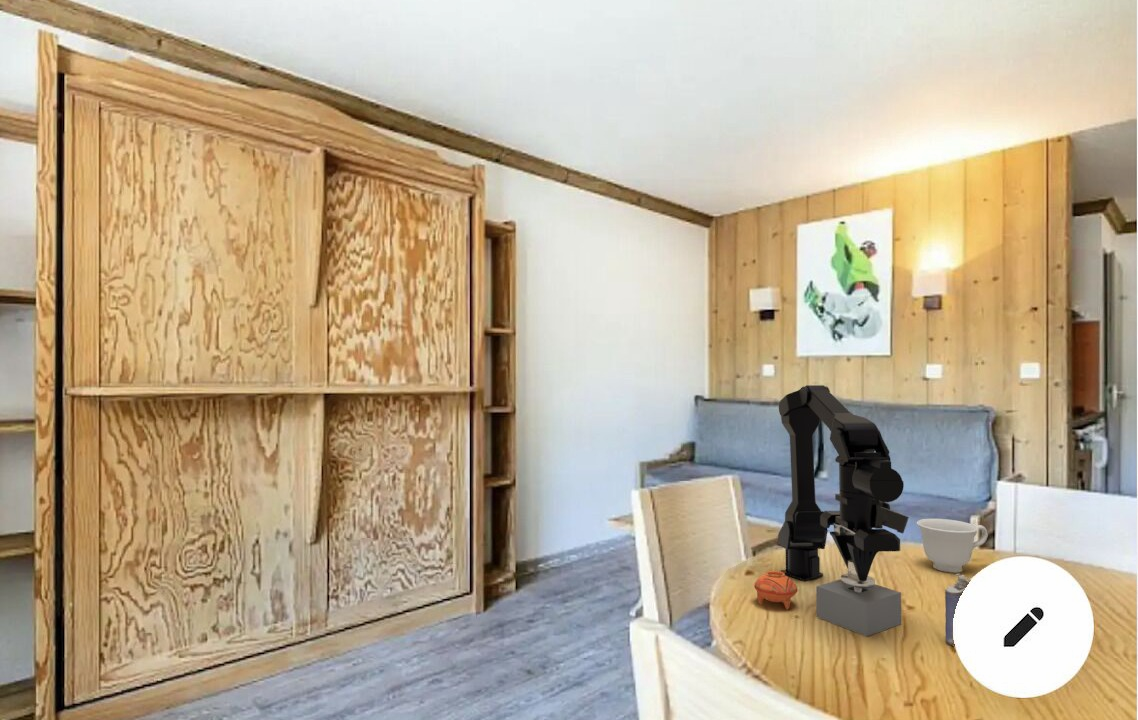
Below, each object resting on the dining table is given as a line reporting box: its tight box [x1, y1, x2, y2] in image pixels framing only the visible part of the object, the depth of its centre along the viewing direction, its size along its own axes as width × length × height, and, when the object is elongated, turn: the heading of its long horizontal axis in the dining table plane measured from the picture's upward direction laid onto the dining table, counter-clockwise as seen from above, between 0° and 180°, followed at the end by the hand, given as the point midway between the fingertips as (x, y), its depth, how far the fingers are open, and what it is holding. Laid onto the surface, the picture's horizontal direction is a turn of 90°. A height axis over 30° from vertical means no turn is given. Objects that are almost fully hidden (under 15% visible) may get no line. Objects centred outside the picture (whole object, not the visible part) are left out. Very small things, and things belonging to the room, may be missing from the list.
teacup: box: [916, 518, 988, 574], centre depth 141 cm, size 12×15×10 cm
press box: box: [815, 578, 902, 637], centre depth 112 cm, size 10×10×6 cm
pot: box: [753, 570, 798, 610], centre depth 120 cm, size 8×8×7 cm
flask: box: [944, 573, 971, 648], centre depth 104 cm, size 9×3×11 cm, turn 121°
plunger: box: [840, 559, 876, 593], centre depth 112 cm, size 7×7×10 cm
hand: (857, 577), depth 112 cm, fingers closed on plunger, 3 cm apart
